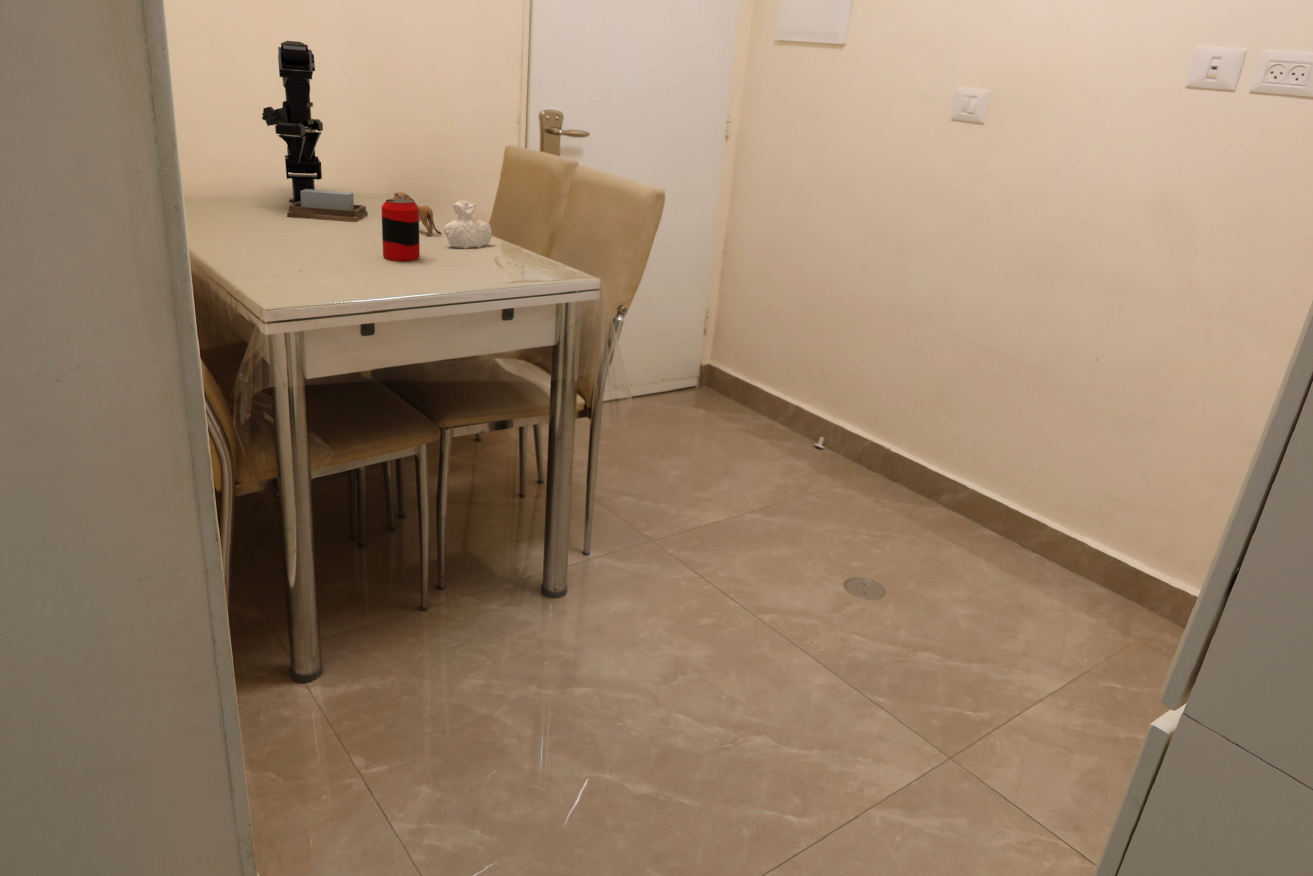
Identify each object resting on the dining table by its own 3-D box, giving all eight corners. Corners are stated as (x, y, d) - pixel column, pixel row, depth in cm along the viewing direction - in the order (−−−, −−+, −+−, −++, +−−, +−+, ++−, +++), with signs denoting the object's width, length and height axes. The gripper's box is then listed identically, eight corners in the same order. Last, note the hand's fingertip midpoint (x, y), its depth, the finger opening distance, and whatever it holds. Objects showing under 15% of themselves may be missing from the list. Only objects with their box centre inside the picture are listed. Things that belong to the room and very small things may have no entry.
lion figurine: (387, 228, 223) (386, 191, 219) (401, 226, 227) (401, 189, 224) (435, 238, 217) (434, 199, 214) (449, 235, 221) (448, 197, 218)
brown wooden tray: (301, 209, 237) (300, 200, 236) (367, 214, 238) (367, 205, 237) (287, 216, 226) (286, 206, 225) (356, 221, 228) (355, 211, 227)
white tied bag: (488, 253, 216) (474, 210, 217) (502, 238, 210) (487, 194, 212) (443, 256, 209) (428, 212, 210) (455, 241, 203) (440, 196, 204)
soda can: (381, 254, 196) (379, 197, 191) (416, 254, 199) (415, 198, 194) (385, 261, 190) (383, 203, 185) (422, 261, 192) (421, 204, 188)
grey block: (306, 208, 233) (305, 188, 231) (354, 212, 234) (353, 192, 232) (301, 211, 229) (300, 191, 228) (349, 214, 230) (348, 194, 228)
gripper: (278, 93, 236) (282, 155, 241) (251, 96, 218) (256, 163, 224) (321, 97, 236) (325, 159, 242) (298, 100, 219) (302, 166, 225)
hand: (302, 161), depth 233 cm, fingers open, 9 cm apart
